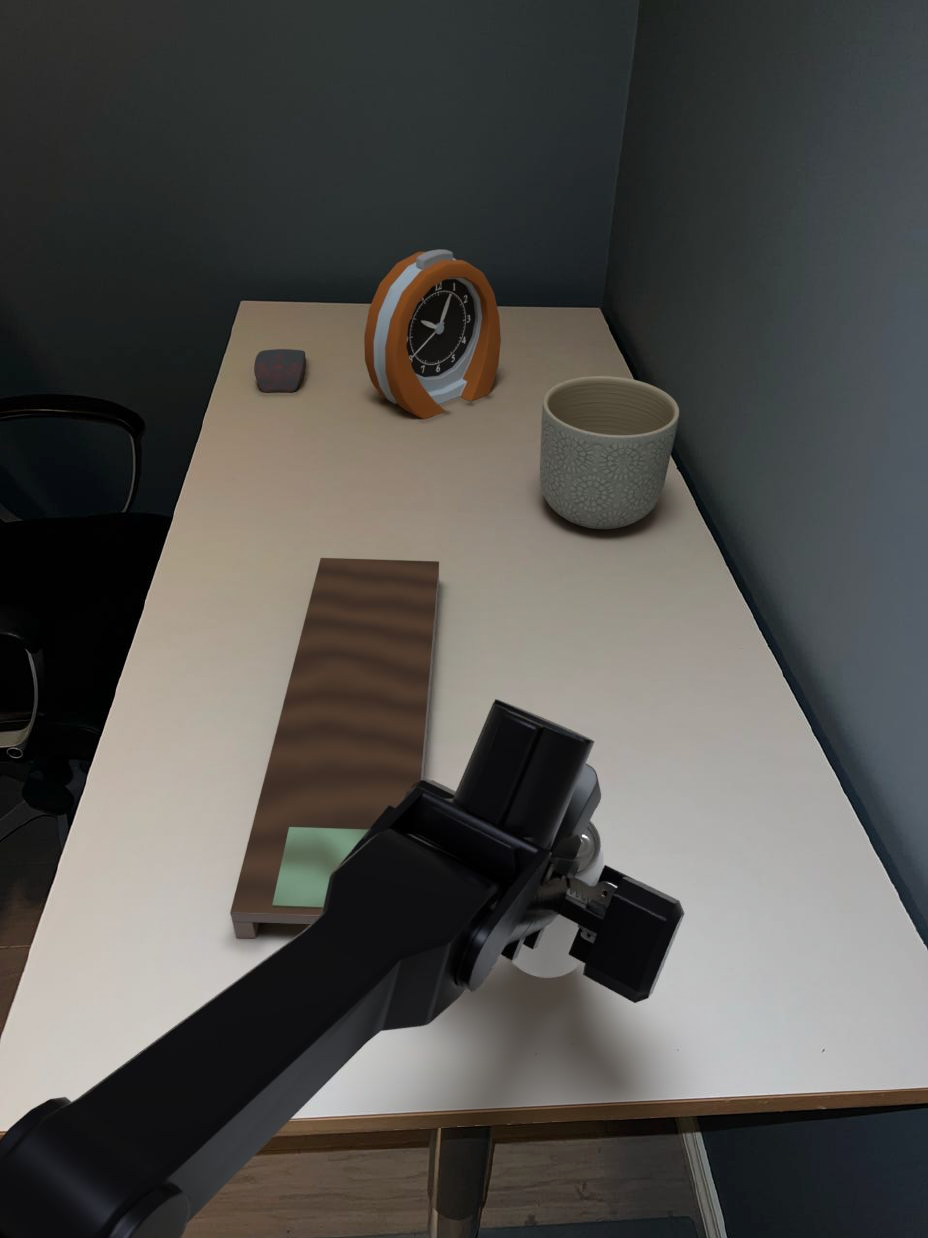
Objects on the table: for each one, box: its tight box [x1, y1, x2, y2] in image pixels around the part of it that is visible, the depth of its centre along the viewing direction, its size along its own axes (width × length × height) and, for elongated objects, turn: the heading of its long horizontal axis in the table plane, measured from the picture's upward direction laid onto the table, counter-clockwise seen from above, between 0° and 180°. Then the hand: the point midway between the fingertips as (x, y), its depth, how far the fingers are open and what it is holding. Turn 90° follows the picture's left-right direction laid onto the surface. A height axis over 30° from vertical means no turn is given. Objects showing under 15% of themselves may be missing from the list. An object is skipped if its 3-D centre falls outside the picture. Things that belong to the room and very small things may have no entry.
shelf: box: [229, 557, 440, 939], centre depth 91 cm, size 48×14×4 cm, turn 178°
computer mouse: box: [253, 348, 306, 393], centre depth 154 cm, size 8×14×4 cm, turn 3°
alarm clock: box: [363, 249, 502, 420], centre depth 143 cm, size 22×10×23 cm, turn 132°
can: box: [509, 820, 605, 979], centre depth 65 cm, size 6×6×12 cm
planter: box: [539, 375, 680, 530], centre depth 120 cm, size 17×17×15 cm
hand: (560, 873), depth 65 cm, fingers closed on can, 6 cm apart
